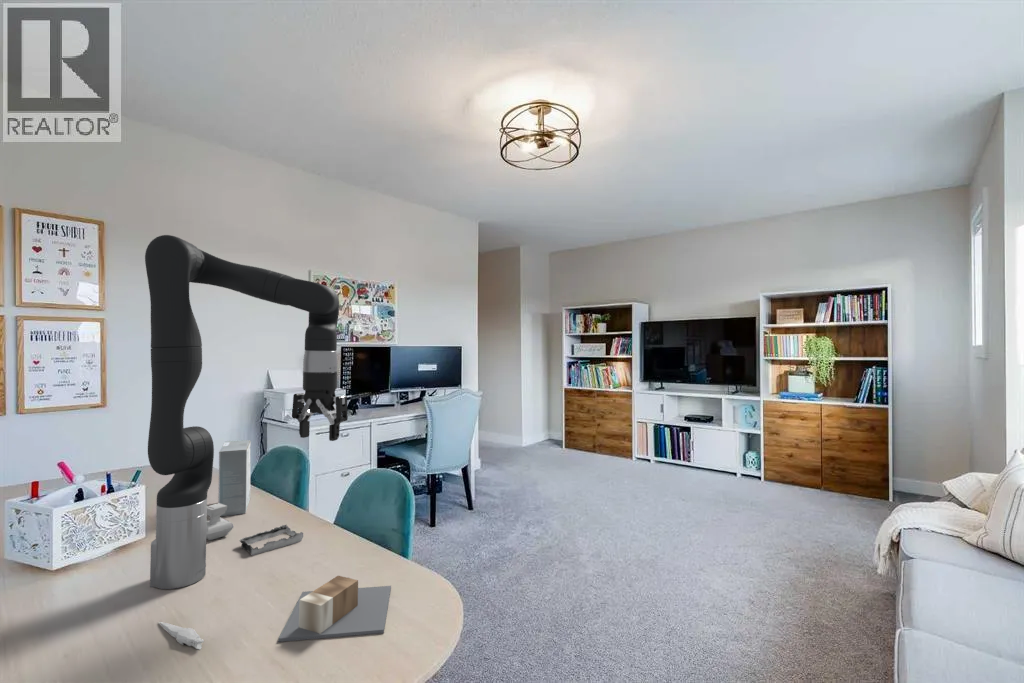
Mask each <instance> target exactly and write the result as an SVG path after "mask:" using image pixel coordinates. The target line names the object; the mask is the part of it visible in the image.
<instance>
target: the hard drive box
mask: <svg viewBox="0 0 1024 683" xmlns="http://www.w3.org/2000/svg"><path fill="white" fill-rule="evenodd" d="M251 444H252V442H251V440H250V439H243V440H242V439H241V440H229V441H228V440H227V441H224V443H223V445H222V447H221V448H220V449H219V450H218V451H219V452H218V493H217V494H218V496H217V497H218V498H217V500H218V501H217V502H218V503H220V504H223V505H226V506H227V510H226V511H225V514H223V515H221V517H229V516H235V515H236V516H237V515H243V514H244V513H245V514H246V513H247V510H248V507H249V503H250V499H251ZM218 503H217V504H218ZM245 514H244V515H245Z"/></svg>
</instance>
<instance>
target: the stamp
mask: <svg viewBox="0 0 1024 683" xmlns="http://www.w3.org/2000/svg"><path fill="white" fill-rule="evenodd" d="M226 510H227V506H226V505H223V504H220V503H215V504H211V505H207V517H209V520H207V530H206V540H208V541H212V540H215V539H220V538H222V537H225V536H227V535H228V534H229V533H230V532H231V531H232V530H233V529H234V523H233V522H232V521H229V520H227V519H225V518H223V517H222V516H221V515H223V514H225V511H226ZM220 516H221V517H220Z"/></svg>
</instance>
